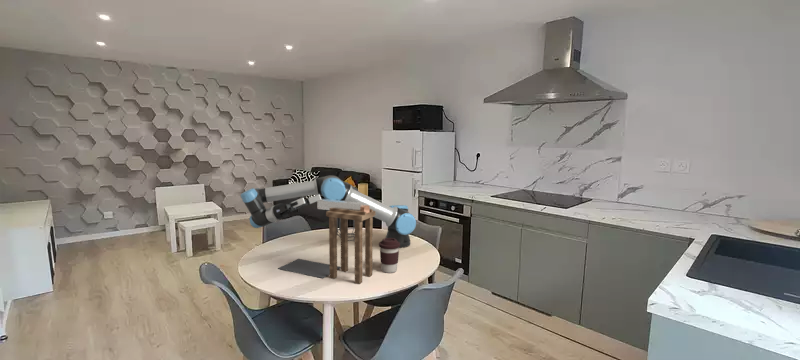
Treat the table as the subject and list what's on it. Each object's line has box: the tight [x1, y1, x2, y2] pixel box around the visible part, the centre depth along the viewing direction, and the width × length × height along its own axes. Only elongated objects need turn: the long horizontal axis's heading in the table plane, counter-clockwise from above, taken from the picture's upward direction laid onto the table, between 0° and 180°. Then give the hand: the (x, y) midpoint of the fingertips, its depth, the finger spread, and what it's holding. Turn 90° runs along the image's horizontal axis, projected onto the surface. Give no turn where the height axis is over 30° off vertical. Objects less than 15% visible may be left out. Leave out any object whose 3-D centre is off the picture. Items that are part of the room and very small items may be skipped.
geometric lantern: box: [337, 181, 360, 242], centre depth 226 cm, size 16×16×35 cm
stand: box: [325, 205, 376, 285], centre depth 167 cm, size 18×12×33 cm, turn 66°
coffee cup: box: [378, 237, 400, 274], centre depth 177 cm, size 10×10×15 cm
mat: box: [277, 258, 341, 279], centre depth 179 cm, size 26×15×1 cm, turn 66°
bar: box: [316, 198, 365, 211], centre depth 167 cm, size 22×4×4 cm, turn 68°
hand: (312, 198), depth 176 cm, fingers open, 13 cm apart
